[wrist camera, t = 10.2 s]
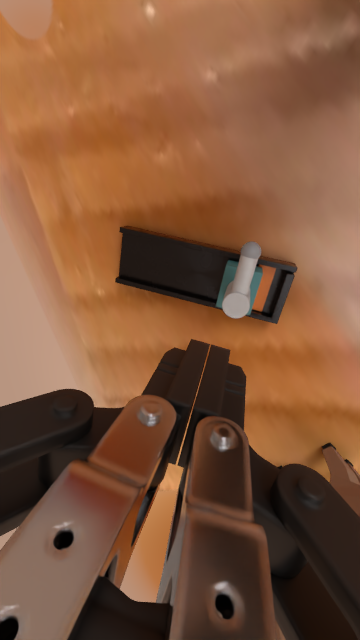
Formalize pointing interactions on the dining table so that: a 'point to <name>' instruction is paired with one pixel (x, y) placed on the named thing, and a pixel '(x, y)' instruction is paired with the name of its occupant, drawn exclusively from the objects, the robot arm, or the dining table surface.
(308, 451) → the dining table surface
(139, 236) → the rail
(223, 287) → the handle
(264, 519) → the robot arm
